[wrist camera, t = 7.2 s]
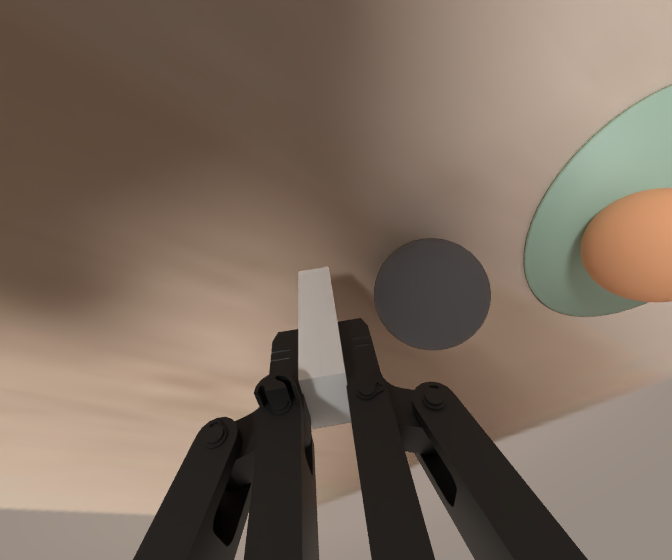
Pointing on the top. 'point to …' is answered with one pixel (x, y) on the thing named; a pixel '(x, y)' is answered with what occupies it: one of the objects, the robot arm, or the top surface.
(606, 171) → the green plate
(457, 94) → the top surface
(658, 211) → the object ball
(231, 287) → the top surface
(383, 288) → the dark grey ball
